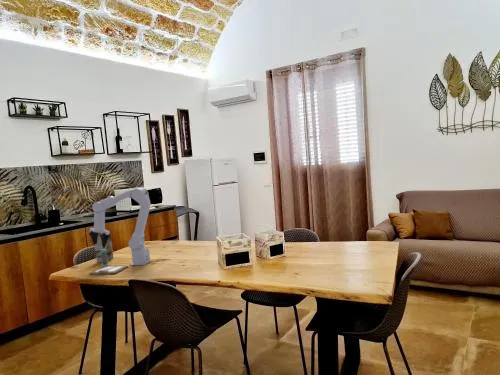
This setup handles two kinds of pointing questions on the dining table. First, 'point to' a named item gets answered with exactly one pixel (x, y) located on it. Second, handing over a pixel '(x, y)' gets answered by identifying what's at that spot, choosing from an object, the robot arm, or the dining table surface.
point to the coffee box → (99, 247)
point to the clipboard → (109, 270)
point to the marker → (104, 257)
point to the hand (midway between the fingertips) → (99, 245)
